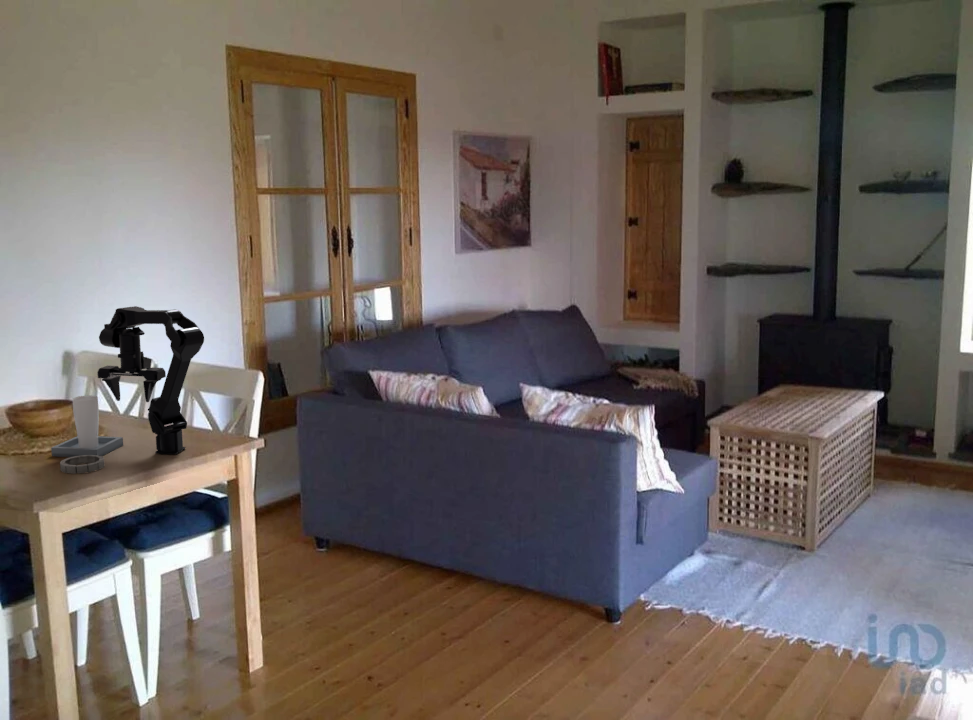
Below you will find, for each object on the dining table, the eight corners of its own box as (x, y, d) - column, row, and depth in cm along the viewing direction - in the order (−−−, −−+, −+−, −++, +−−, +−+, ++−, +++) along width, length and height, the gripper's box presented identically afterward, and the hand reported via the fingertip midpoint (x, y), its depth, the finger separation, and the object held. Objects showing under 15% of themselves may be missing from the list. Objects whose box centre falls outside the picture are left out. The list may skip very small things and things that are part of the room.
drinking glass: (76, 446, 277) (73, 396, 275) (101, 444, 279) (98, 394, 277) (75, 452, 271) (71, 400, 268) (100, 450, 273) (97, 399, 271)
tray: (123, 445, 281) (122, 437, 281) (97, 458, 268) (96, 449, 267) (79, 443, 283) (79, 435, 283) (51, 456, 270) (51, 447, 269)
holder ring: (112, 462, 263) (111, 455, 263) (90, 474, 253) (89, 467, 252) (75, 461, 265) (75, 454, 265) (52, 472, 254) (51, 465, 254)
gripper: (173, 346, 284) (175, 396, 287) (114, 344, 287) (117, 394, 290) (155, 352, 273) (157, 405, 276) (94, 350, 276) (98, 402, 279)
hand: (133, 401), depth 280 cm, fingers open, 9 cm apart
